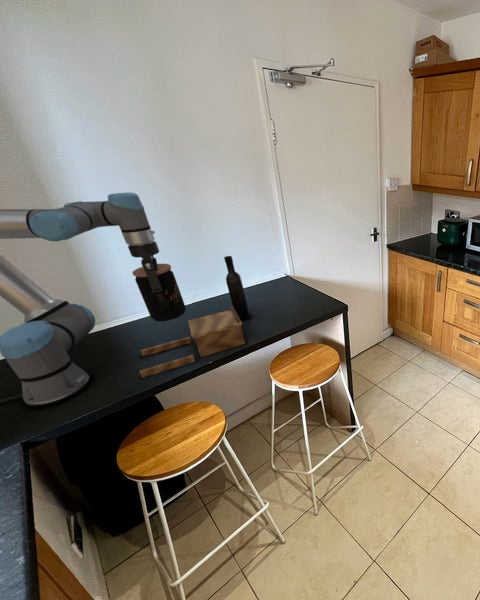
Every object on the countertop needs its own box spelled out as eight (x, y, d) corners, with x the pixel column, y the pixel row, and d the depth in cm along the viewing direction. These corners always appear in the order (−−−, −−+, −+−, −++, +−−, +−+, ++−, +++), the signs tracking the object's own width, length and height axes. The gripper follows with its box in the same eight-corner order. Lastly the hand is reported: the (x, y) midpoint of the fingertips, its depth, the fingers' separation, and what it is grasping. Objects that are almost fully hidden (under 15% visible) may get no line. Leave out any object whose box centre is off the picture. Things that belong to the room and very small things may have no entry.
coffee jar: (169, 323, 108) (150, 275, 100) (144, 320, 110) (123, 273, 102) (193, 309, 117) (178, 264, 109) (170, 307, 120) (153, 262, 111)
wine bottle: (236, 321, 144) (219, 259, 130) (236, 316, 148) (220, 255, 135) (250, 319, 146) (235, 257, 133) (249, 313, 150) (235, 254, 137)
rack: (142, 378, 109) (128, 349, 104) (142, 355, 121) (130, 328, 115) (247, 345, 127) (240, 319, 122) (239, 328, 139) (232, 303, 133)
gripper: (155, 249, 95) (179, 312, 105) (155, 233, 112) (176, 289, 122) (124, 253, 91) (152, 319, 101) (129, 237, 108) (152, 294, 118)
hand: (165, 303), depth 112 cm, fingers closed on coffee jar, 11 cm apart
